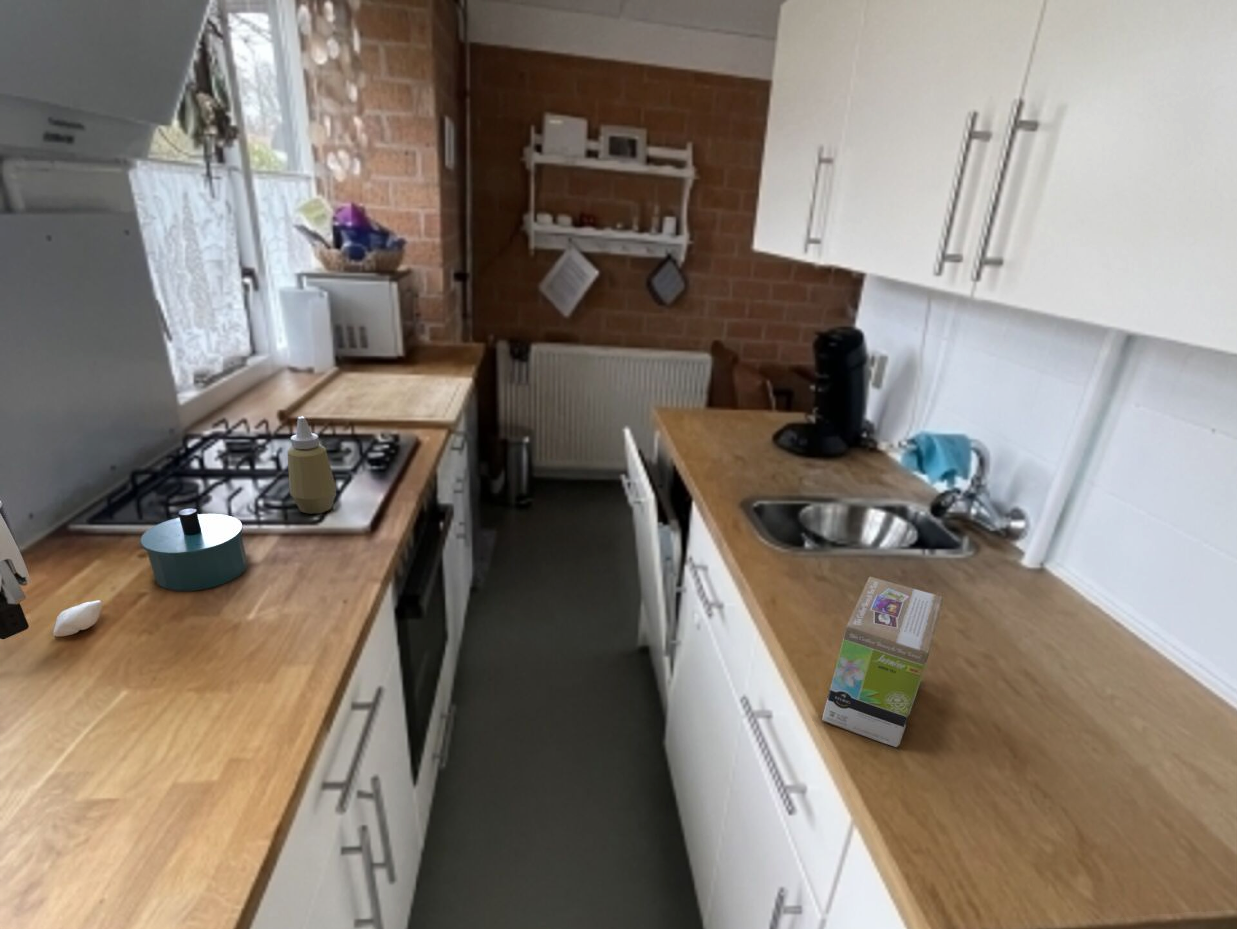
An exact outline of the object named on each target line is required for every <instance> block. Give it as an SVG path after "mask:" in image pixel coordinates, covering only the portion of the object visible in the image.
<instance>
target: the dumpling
mask: <svg viewBox="0 0 1237 929" xmlns="http://www.w3.org/2000/svg"><path fill="white" fill-rule="evenodd" d="M69 601H70V602H71V600H70V599H69ZM101 610H102V601H101V600H99V599H98V600H92V601H87V602H86V601H85V602H83V603H81V604H78V605H75V606H72V607H69V608H67V609H64V610H62V611H61V612H59V614H58V616H57V617H56V618H55V619H56V620H55V621H56V622H55V625H54V627H53V631H52V634H53V636H54V637H67V636H71V635H74V634H77V633H78V632H80V630H81V631H84V630H87V629H89V628H90V627H93V626H94V625H95V624H96V623H97V622H98V620H99V617H100V615H101Z"/></svg>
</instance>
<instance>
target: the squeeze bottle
mask: <svg viewBox="0 0 1237 929" xmlns="http://www.w3.org/2000/svg"><path fill="white" fill-rule="evenodd" d="M296 424H297V425H296V434H293V435H292V436H290V443H291V447H290V448H289V449H288V450H287V451H286V452H287V453H286V454H287V466H288V467H287V468H288V480H289V481H288V482H289V483H288V484H289V494H290V496H291V498H292V499H293V501H294V502H295V504H296V506H297V507H298V510H299V511H300V512H302V513H304V514H308V515H309V514H321V513H325V512H328V511H329V510H331V509H332V508H333V506H334V501H335V498H336V497H335V496H336V493H337V486H336V482H335V478H334V474H333V471H332V467H331V463H330V459H329V455H328V452H327V449H326V447H325V446H323V445H321V444H320V438H319V434H316V433H313V432H312V431H311V429H310V426H309V424H308V421H307V419H306V417H305V416H298V417H297V421H296Z"/></svg>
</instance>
